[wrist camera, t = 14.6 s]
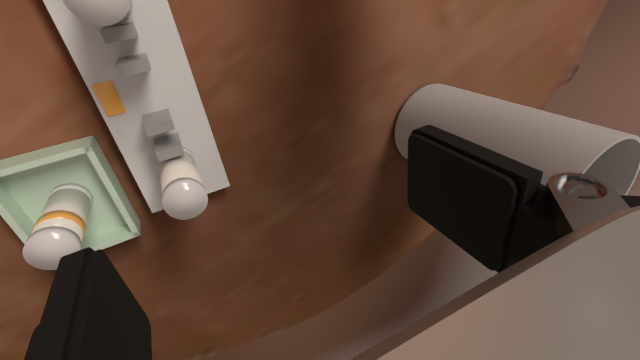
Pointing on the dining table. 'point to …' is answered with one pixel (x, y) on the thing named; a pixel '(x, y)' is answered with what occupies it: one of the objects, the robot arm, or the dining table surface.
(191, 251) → the dining table surface
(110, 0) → the cylinder
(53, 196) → the fuse marked
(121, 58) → the holder
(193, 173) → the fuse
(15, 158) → the tray
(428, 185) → the robot arm
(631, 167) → the cylinder vase
